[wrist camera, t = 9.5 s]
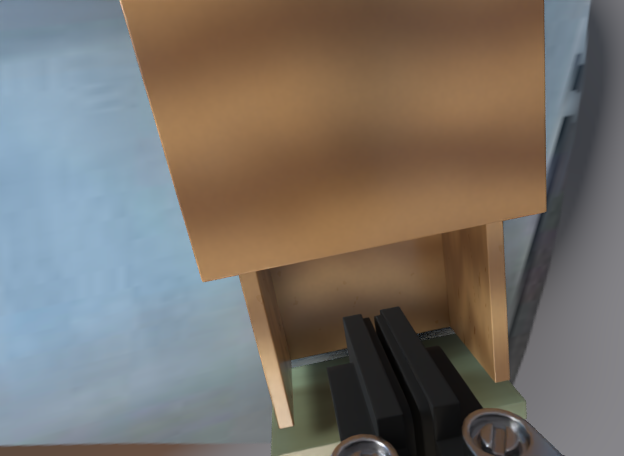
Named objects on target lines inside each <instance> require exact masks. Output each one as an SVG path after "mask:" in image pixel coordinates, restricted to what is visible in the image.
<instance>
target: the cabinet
mask: <svg viewBox="0 0 624 456" xmlns="http://www.w3.org/2000/svg"><path fill="white" fill-rule="evenodd" d="M120 4H121V7H122V11H123V14H124V17H125V21H126V24H127V28H128V31H129V34H130V38H131V41H132V45H133V48H134V51H135V55H136V58H137V62H138V65H139V68H140V72H141V75H142V79H143V82H144V85H145V89H146V92H147V96H148V99H149V102H150V106H151V109H152V113H153V116H154V120H155V123H156V126H157V130H158V133H159V137H160V140H161V143H162V147H163V150H164V154H165V157H166V160H167V164H168V167H169V171H170V174H171V177H172V181H173V184H174V188H175V191H176V194H177V198H178V201H179V205H180V208H181V211H182V215H183V218H184V222H185V225H186V228H187V232H188V235H189V239H190V242H191V245H192V249H193V252H194V256H195V259H196V262H197V266H198V269H199V273H200V276H201V279H202V281H203V282H207V281H212V280H217V279H221V278H226V277H231V276H236V275H241V274H246V273H251V272H256V271H260V270H265V269H270V268H275V267H280V266H285V265H290V264H295V263H300V262H304V261H309V260H314V259H319V258H324V257H329V256H334V255H339V254H343V253H348V252H353V251H358V250H363V249H368V248H373V247H378V246H383V245H387V244H392V243H397V242H402V241H407V240H412V239H417V238H422V237H426V236H431V235H436V234H441V233H446V232H451V231H456V230H461V229H466V228H470V227H475V226H480V225H485V224H490V223H495V222H500V221H505V220H509V219H514V218H519V217H524V216H529V215H534V214H539V213H544V212H546V128H545V36H544V0H120Z"/></svg>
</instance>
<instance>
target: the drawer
mask: <svg viewBox="0 0 624 456" xmlns="http://www.w3.org/2000/svg"><path fill="white" fill-rule="evenodd" d="M239 278H240V282H241V286H242V290H243V294H244V297H245V301H246V305H247V309H248V313H249V316H250V320H251V324H252V328H253V332H254V335H255V339H256V343H257V347H258V351H259V354H260V358H261V362H262V366H263V370H264V373H265V377H266V381H267V385H268V389H269V393H270V396H271V400H272V439H271V456H331V454H332V452H333V451H334V449H335V447H336V446H337V445H338V444H340V443H341V441H340V436H339V431H338V426H337V421H336V416H335V410H334V405H333V400H332V395H331V389H330V384H329V379H328V373H327V367H332V366H337V365H342V364H347V363H350V361H349V356H347V357H342V358H337V359H333V360H328V361H323V362H319V363H314V364H309V365H304V366H300V367H295V368H292V367H291V360H294V359H299V358H304V357H308V356H313V355H318V354H323V353H327V352H332V351H337V350H342V349H346V348H347V343H346V337H345V331H344V325H343V317H346V316H352V315H357V314H361V315H362V317H363V318H367V317H369V318H370V320H371V322H372V324H373V327H374V329H375V322H374V316H377V315H380V310H382V309H387V308H392V307H397V306H399V307H400V308H401V310H402V312H403V313H404V315H405V316H406V318H407V319H408V321H409V323H410V324H411V326H412V327H413V329H414V330H415V332H416V334H417V333H422V332H427V331H432V330H436V329H441V328H446V327H451V328H452V330H453V331H454V332H455V333H456V334H451V335H446V336H442V337H437V338H432V339H427V340H423V341H421V342H422V343H423V345H424V346H425V348H426V347H431V346H436V345H438V346H440V347H441V348H442V350H443V351H444V352H445V354H446V355H447V357H448V358H449V360H450V361H451V362H452V364H453V365H454V367H455V368H456V370H457V371H458V373H459V374H460V375H461V377H462V378H463V380H464V381H465V383H466V384H467V385H468V387H469V388H470V390H471V391H472V393H473V394H474V395H475V397H476V398H477V400H478V401H479V403H480V404H481V405H482V407H483V408H499V409H503V410H507V411H510V412H512V413H514V414H517V415H519V416H521V417H522V418H523V419H526V418H527V415H526V414H527V413H526V400H525V399H524V398H523V397H522V396H521V395H520V393H519V392H518V391H517V390H516V389H515V387H514V386H513V385H512V384H511V383H510V382H509V380H510V371H509V349H508V326H507V304H506V282H505V260H504V238H503V221H500V222H495V223H490V224H485V225H480V226H475V227H470V228H466V229H461V230H456V231H451V232H446V233H441V234H436V235H431V236H426V237H422V238H417V239H412V240H407V241H402V242H397V243H392V244H387V245H383V246H378V247H373V248H368V249H363V250H358V251H353V252H348V253H343V254H339V255H334V256H329V257H324V258H319V259H314V260H309V261H304V262H300V263H295V264H290V265H285V266H280V267H275V268H270V269H265V270H260V271H256V272H251V273H246V274H241V275H239ZM375 331H376V329H375Z"/></svg>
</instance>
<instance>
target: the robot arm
mask: <svg viewBox="0 0 624 456" xmlns="http://www.w3.org/2000/svg"><path fill="white" fill-rule="evenodd" d="M374 322H375V329H376V331H375V329H374V327H373V324H372V322H371V320H370V318H369V317H367V318H363V317H362V315H361V314H357V315H352V316H346V317H343V325H344V331H345V337H346V343H347V349H348V355H349V361H350V363H347V364H342V365H337V366H332V367H327V373H328V379H329V384H330V389H331V395H332V400H333V405H334V410H335V416H336V421H337V426H338V431H339V436H340V441H341V443H340V444H338V445H337V446H336V447H335V449H334V451H333V452H332V454H331V456H564V455H562V454H561V453H560V452H559V451H558V450H557V449H556V448H555V447H554V446H553V445H552V444H551V443H549V442H548V441H547V440H546V439H545V438H544V437H543V436H542V435H541V434H540V433H539V432H538V431H537V430H536V429H535V428H534V427H533V426H532V425H531V424H529V423H528V422H527V421H526V420H524V419H523V418H522V417H521V416H519V415H517V414H514V413H512V412H510V411H507V410H503V409H499V408H483V407H482V405H481V404H480V403H479V401H478V400H477V398H476V397H475V395H474V394H473V393H472V391H471V390H470V388H469V387H468V385H467V384H466V383H465V381H464V380H463V378H462V377H461V375H460V374H459V373H458V371H457V370H456V368H455V367H454V365H453V364H452V362H451V361H450V360H449V358H448V357H447V355H446V354H445V352H444V351H443V350H442V348H441V347H440V346H438V345H436V346H431V347H426V348H425V346H424V345H423V343H422V342H421V340H420V338H419V337H418V335H417V334H416V332H415V330H414V329H413V327H412V326H411V324H410V323H409V321H408V319H407V318H406V316H405V315H404V313H403V312H402V310H401V308H400V307H399V306H397V307H392V308H387V309H382V310H380V315H377V316H374Z"/></svg>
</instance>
